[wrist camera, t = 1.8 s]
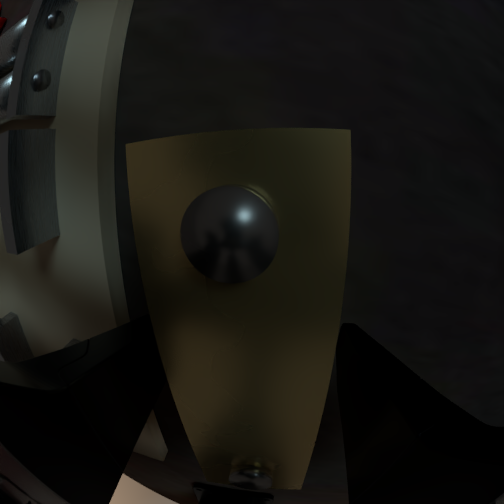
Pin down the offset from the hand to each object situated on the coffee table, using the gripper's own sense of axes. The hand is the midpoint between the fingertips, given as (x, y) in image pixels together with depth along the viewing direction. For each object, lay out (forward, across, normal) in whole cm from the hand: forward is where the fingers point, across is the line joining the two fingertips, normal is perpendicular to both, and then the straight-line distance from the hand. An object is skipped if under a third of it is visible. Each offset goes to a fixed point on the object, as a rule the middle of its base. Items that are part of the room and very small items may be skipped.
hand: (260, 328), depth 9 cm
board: (+1, +11, 0) cm, 11 cm away
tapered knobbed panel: (+1, 0, 0) cm, 1 cm away
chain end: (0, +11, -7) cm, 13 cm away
